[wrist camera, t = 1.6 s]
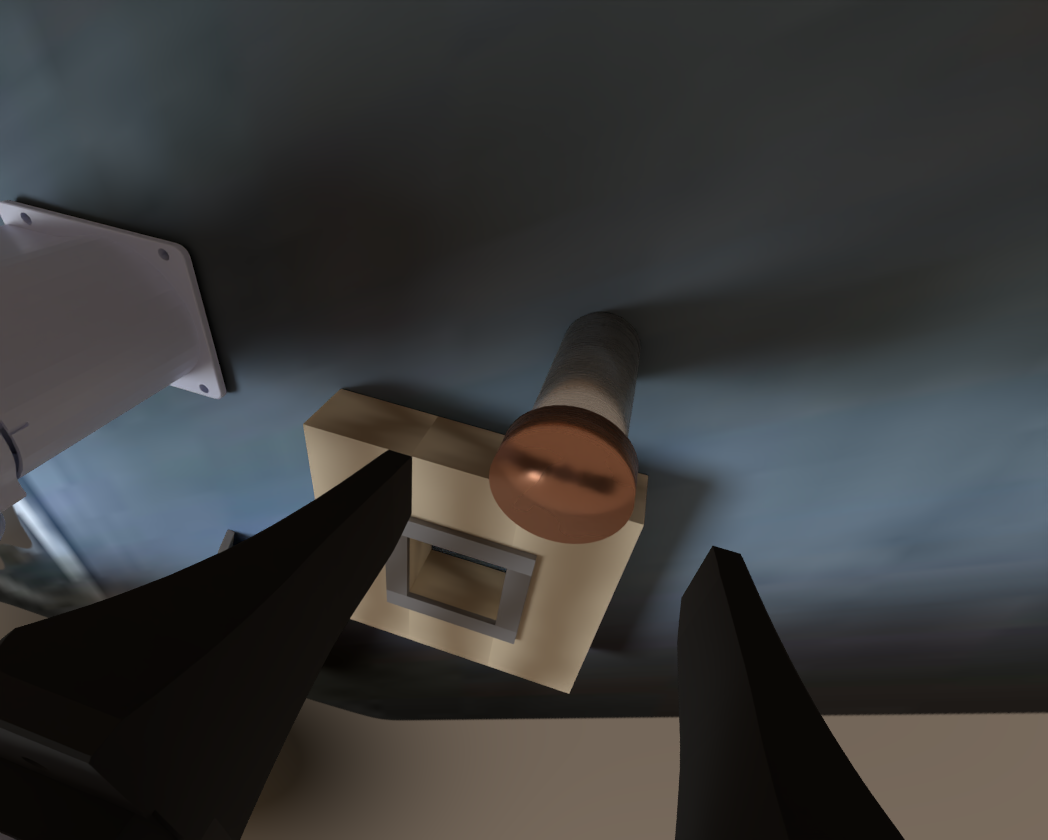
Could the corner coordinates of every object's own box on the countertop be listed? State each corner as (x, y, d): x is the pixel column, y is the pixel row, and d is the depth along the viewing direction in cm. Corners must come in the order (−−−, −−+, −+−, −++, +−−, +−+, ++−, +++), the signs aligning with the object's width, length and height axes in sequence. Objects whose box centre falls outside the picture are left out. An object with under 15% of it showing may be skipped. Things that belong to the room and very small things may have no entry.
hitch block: (358, 573, 33) (331, 617, 30) (340, 388, 24) (298, 428, 21) (577, 646, 31) (568, 698, 29) (648, 475, 22) (643, 530, 20)
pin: (545, 377, 21) (482, 519, 14) (563, 291, 18) (497, 414, 12) (635, 401, 20) (613, 560, 14) (665, 315, 18) (654, 458, 11)
